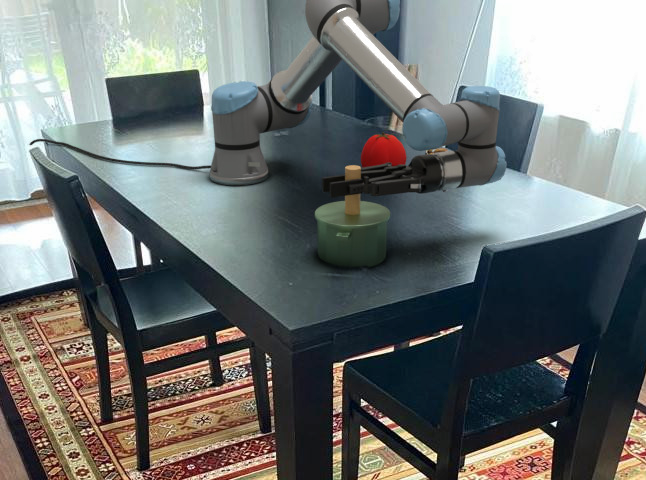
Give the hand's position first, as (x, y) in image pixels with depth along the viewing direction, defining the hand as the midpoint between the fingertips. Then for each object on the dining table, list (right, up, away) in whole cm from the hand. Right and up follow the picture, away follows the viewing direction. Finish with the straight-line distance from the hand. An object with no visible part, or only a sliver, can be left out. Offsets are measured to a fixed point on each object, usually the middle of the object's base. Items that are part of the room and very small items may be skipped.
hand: (326, 187), depth 145 cm
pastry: (+32, +21, +68) cm, 78 cm away
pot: (+5, -12, +9) cm, 16 cm away
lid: (+5, -5, +5) cm, 8 cm away
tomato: (+14, +11, +50) cm, 54 cm away
